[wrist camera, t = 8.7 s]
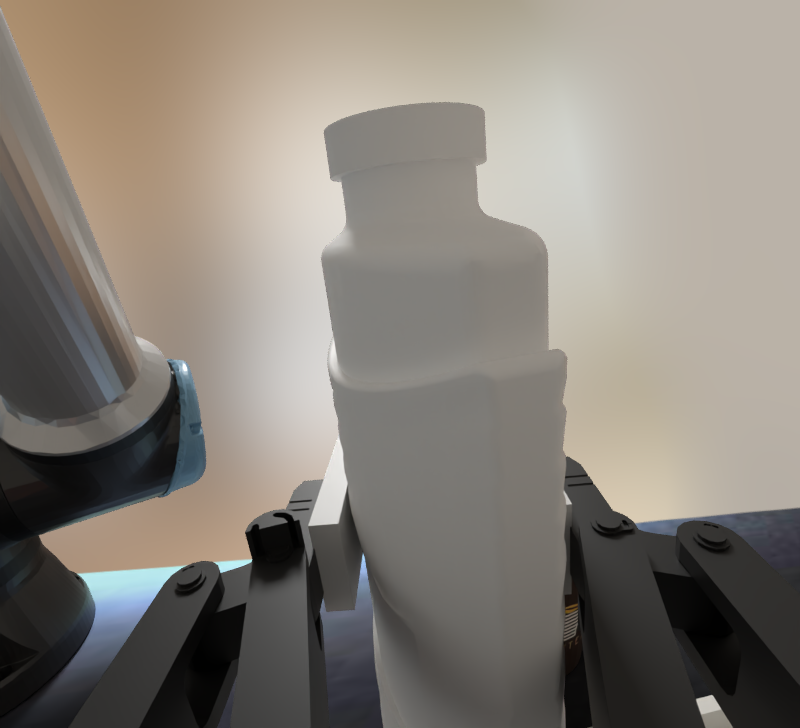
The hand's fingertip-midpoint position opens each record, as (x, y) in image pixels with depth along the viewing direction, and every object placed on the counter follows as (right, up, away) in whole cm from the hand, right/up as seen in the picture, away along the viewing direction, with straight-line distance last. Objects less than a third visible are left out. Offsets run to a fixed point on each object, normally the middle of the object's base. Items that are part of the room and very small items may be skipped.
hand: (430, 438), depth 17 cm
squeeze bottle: (+1, -11, -2) cm, 11 cm away
